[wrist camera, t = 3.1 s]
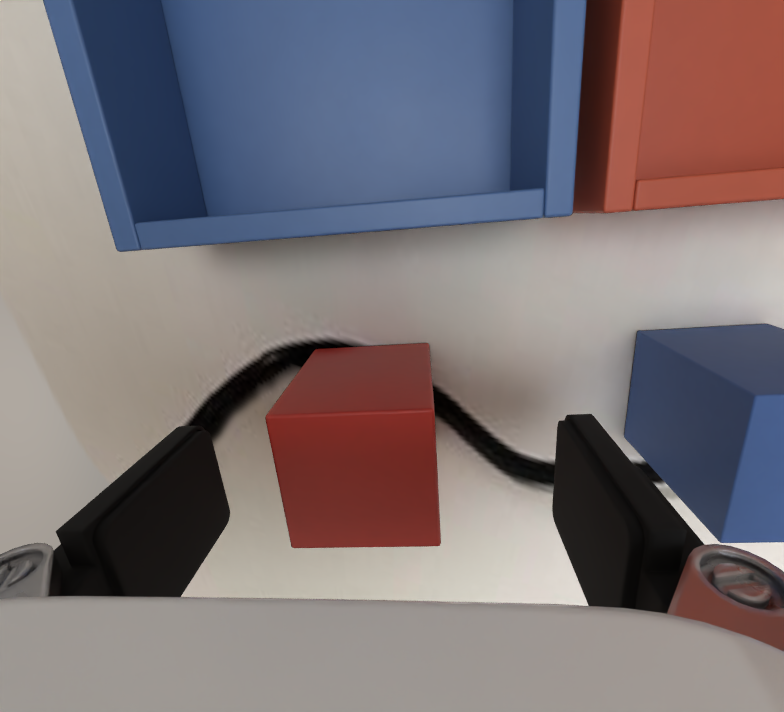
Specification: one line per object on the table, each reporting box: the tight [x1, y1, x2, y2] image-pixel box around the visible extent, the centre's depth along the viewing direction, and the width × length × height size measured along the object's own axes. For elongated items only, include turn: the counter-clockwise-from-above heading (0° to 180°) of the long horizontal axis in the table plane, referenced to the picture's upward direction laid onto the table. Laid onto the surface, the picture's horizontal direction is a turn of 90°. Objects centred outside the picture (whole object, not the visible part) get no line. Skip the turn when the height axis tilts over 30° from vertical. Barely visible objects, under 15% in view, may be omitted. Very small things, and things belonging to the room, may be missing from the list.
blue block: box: [624, 324, 784, 543], centre depth 11 cm, size 4×4×5 cm
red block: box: [265, 343, 441, 548], centre depth 12 cm, size 4×4×5 cm
